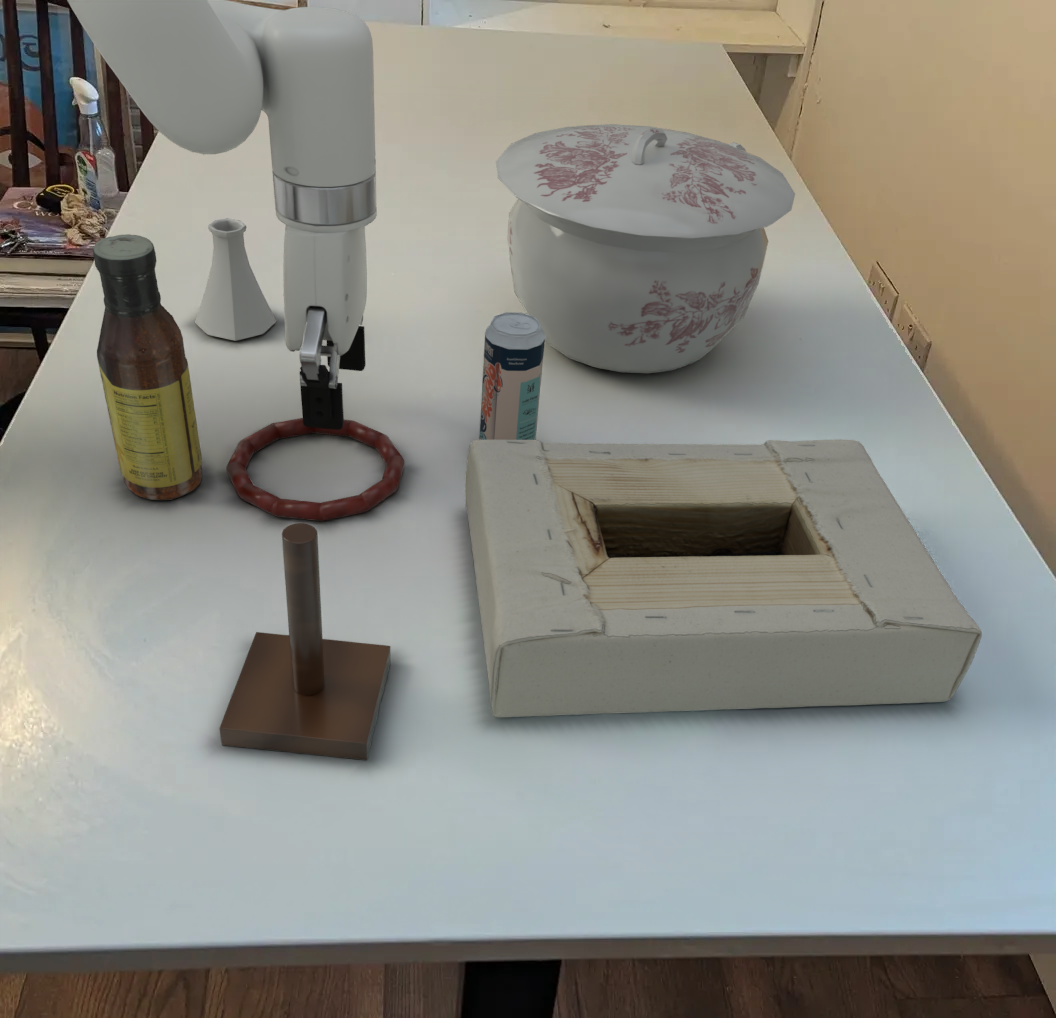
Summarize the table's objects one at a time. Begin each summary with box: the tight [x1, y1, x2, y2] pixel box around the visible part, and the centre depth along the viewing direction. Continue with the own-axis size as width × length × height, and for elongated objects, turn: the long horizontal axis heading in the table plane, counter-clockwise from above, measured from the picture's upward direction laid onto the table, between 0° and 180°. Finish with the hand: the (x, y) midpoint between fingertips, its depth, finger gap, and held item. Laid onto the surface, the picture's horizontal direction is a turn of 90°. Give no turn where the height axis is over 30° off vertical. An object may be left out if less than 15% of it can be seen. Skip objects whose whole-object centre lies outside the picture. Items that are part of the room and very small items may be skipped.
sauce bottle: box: [92, 233, 203, 501], centre depth 87 cm, size 6×6×20 cm
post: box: [218, 522, 391, 761], centre depth 72 cm, size 9×9×14 cm
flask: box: [194, 217, 277, 342], centre depth 112 cm, size 7×7×10 cm
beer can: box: [478, 311, 546, 440], centre depth 97 cm, size 5×5×12 cm
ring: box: [226, 417, 405, 522], centre depth 96 cm, size 14×14×1 cm
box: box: [464, 438, 983, 718], centre depth 84 cm, size 23×8×32 cm
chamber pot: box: [495, 123, 796, 374], centre depth 112 cm, size 28×28×21 cm
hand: (335, 396), depth 99 cm, fingers open, 9 cm apart
